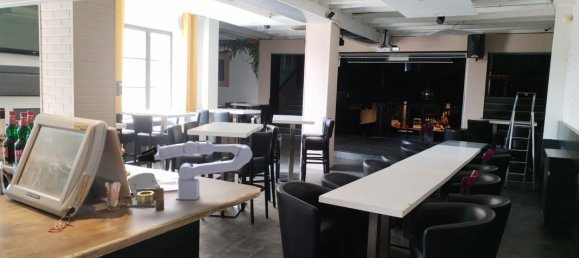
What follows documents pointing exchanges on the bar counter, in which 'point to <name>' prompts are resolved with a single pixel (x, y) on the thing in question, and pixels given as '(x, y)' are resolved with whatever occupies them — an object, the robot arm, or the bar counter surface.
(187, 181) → the robot arm
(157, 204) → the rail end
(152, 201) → the cup bracket
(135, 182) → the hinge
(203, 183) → the bar counter surface
